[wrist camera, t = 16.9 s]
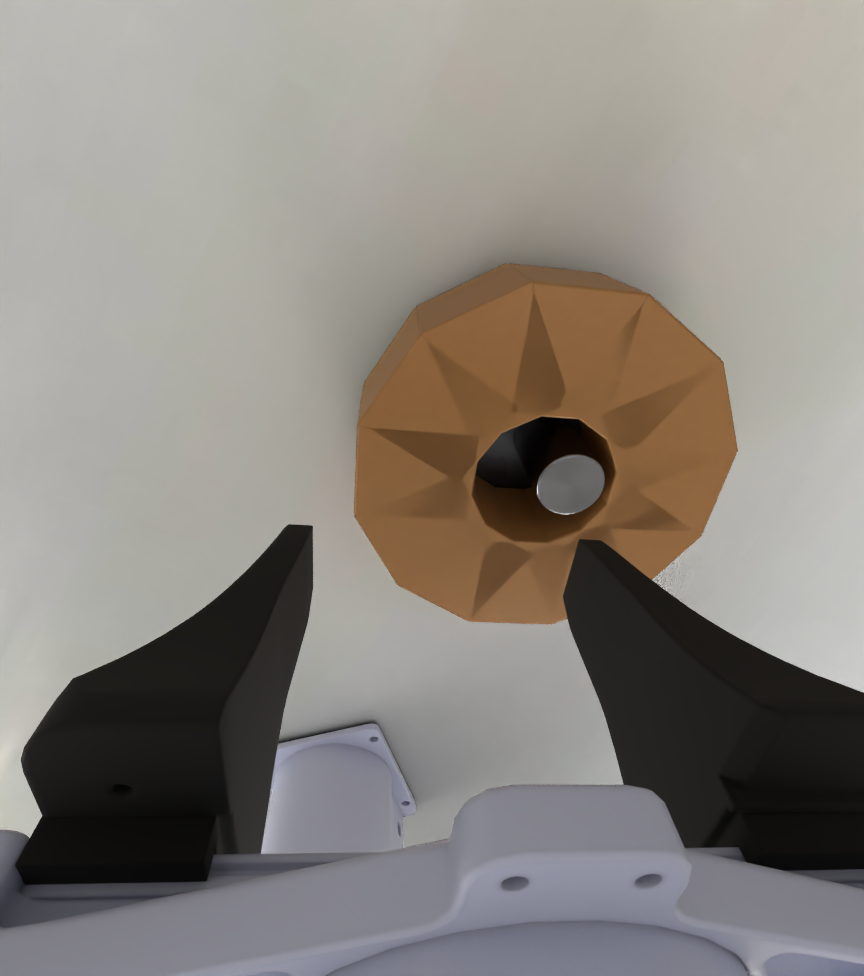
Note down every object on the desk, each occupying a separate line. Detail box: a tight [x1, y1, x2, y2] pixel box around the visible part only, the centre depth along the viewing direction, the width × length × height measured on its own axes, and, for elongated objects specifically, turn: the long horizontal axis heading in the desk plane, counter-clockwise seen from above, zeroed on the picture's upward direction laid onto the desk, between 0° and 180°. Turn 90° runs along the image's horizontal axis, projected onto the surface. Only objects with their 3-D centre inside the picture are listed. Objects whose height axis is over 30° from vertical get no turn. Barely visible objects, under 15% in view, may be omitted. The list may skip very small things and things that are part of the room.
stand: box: [475, 416, 605, 515], centre depth 21 cm, size 9×9×5 cm
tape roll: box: [354, 263, 738, 624], centre depth 20 cm, size 13×13×4 cm
